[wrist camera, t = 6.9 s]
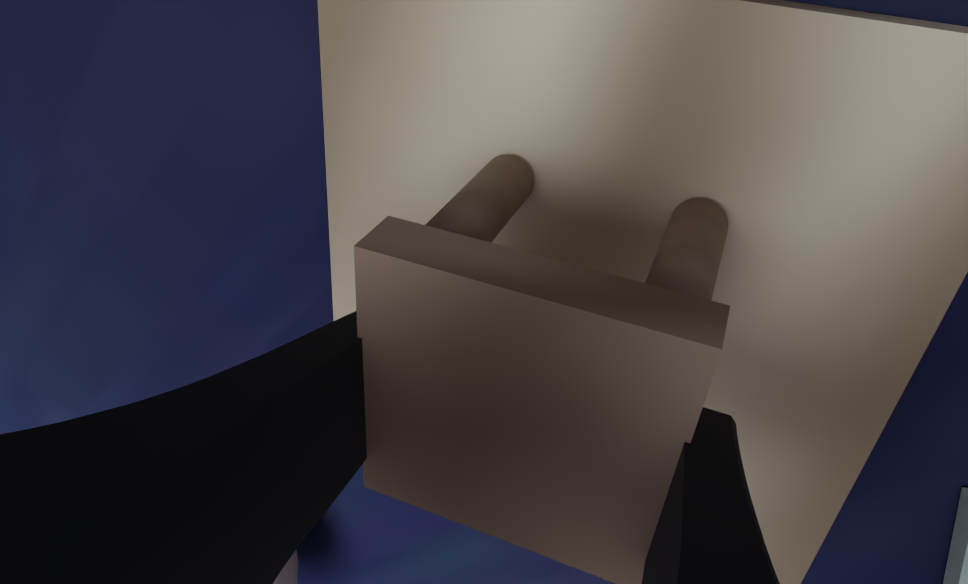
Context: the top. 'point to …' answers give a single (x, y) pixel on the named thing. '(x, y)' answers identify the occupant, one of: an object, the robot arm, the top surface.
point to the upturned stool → (959, 545)
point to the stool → (535, 375)
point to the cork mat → (690, 186)
